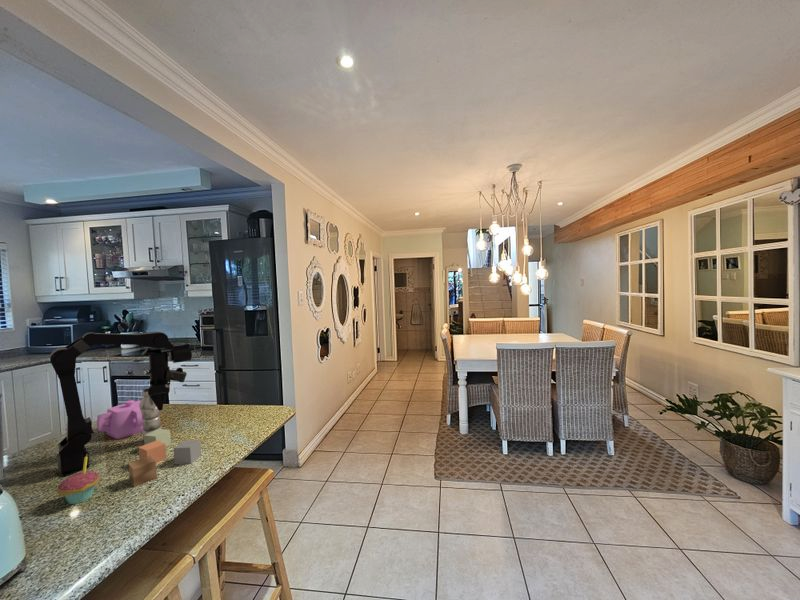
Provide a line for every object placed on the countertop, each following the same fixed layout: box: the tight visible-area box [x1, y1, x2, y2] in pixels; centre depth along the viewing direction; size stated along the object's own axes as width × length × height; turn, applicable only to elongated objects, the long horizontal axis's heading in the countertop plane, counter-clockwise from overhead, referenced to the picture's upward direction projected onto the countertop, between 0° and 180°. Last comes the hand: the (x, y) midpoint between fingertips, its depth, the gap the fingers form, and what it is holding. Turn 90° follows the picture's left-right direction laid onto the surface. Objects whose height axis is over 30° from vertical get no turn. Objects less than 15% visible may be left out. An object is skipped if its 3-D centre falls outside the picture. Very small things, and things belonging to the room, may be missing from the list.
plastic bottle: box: [139, 388, 163, 441], centre depth 128 cm, size 6×7×20 cm
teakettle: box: [96, 399, 143, 440], centre depth 139 cm, size 17×17×12 cm
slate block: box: [172, 439, 202, 465], centre depth 113 cm, size 6×6×6 cm
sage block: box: [143, 428, 172, 447], centre depth 124 cm, size 6×6×6 cm
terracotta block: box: [138, 440, 167, 464], centre depth 113 cm, size 6×6×6 cm
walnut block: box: [128, 456, 158, 488], centre depth 102 cm, size 6×6×6 cm
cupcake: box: [56, 454, 101, 505], centre depth 93 cm, size 9×8×12 cm
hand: (161, 406), depth 127 cm, fingers open, 9 cm apart
